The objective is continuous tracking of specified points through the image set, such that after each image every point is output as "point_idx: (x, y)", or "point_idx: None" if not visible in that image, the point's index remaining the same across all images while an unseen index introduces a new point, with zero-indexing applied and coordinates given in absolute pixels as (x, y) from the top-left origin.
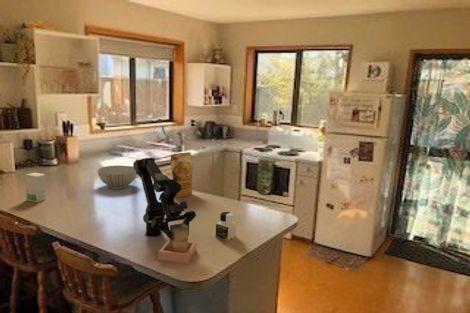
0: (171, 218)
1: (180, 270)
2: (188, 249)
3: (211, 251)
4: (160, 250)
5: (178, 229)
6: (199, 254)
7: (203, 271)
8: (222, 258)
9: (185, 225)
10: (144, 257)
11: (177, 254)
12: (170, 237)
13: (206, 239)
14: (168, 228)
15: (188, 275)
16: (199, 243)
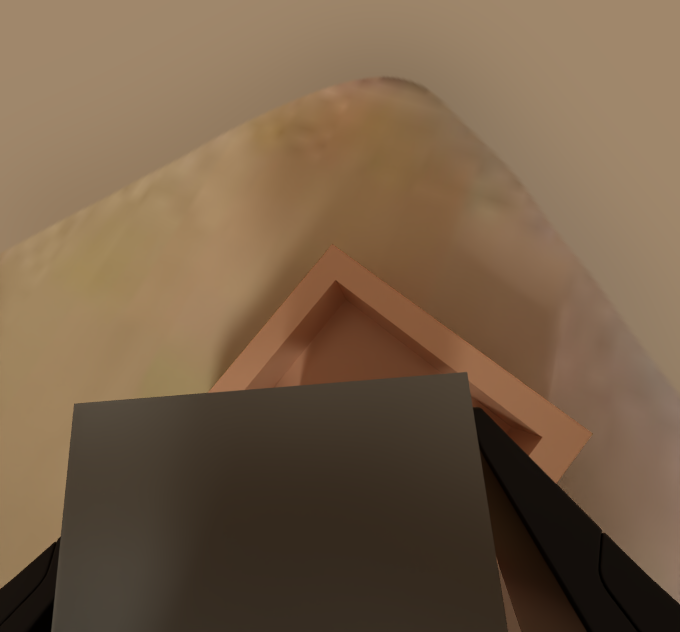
0: None
1: (428, 214)
2: None
3: (110, 389)
4: (569, 445)
5: (359, 383)
6: (206, 382)
7: (298, 157)
8: (111, 264)
9: (93, 518)
10: (667, 547)
11: (414, 307)
12: (498, 437)
13: None
14: (613, 618)
15: (403, 142)
16: None
